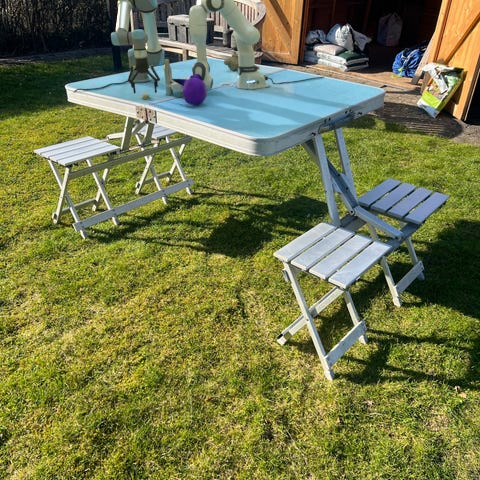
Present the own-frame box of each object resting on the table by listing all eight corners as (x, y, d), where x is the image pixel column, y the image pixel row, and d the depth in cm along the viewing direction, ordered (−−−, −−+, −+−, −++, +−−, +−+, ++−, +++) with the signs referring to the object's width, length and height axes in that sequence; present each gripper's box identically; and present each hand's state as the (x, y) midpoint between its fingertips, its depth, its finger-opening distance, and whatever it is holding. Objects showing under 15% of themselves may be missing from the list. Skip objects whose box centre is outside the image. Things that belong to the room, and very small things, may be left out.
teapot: (227, 73, 361) (227, 53, 353) (221, 70, 369) (220, 51, 362) (250, 70, 370) (250, 50, 362) (243, 68, 378) (242, 49, 371)
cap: (142, 98, 291) (142, 94, 290) (149, 97, 292) (148, 94, 291) (142, 99, 288) (142, 95, 286) (149, 99, 288) (149, 95, 287)
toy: (196, 96, 291) (207, 111, 270) (169, 91, 283) (179, 106, 263) (201, 71, 283) (213, 84, 262) (173, 66, 275) (184, 79, 255)
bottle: (174, 93, 300) (171, 59, 289) (172, 95, 296) (169, 60, 285) (167, 93, 301) (164, 58, 290) (165, 95, 297) (161, 60, 286)
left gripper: (119, 58, 274) (124, 94, 284) (160, 57, 274) (164, 93, 285) (121, 56, 280) (126, 91, 291) (161, 55, 281) (165, 90, 291)
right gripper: (190, 76, 302) (170, 76, 303) (185, 82, 284) (163, 82, 285) (191, 85, 305) (171, 85, 306) (185, 92, 287) (164, 92, 288)
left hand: (145, 92), depth 288 cm, fingers open, 13 cm apart
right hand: (167, 84), depth 295 cm, fingers closed on bottle, 5 cm apart
